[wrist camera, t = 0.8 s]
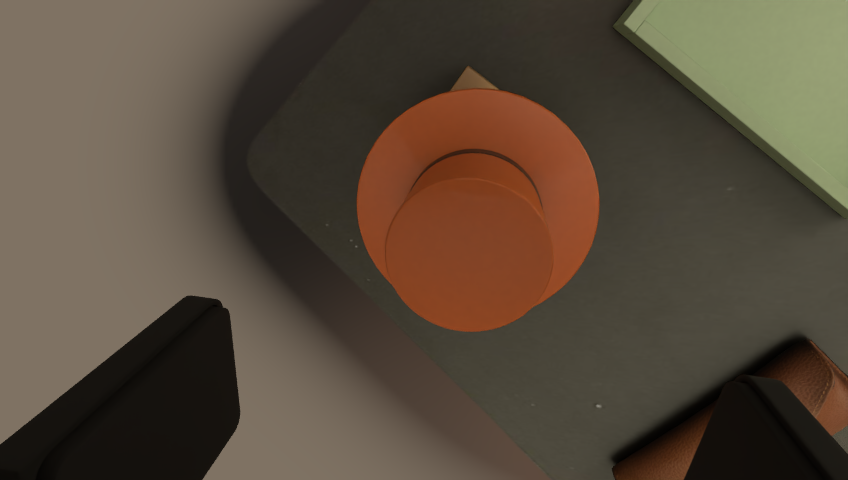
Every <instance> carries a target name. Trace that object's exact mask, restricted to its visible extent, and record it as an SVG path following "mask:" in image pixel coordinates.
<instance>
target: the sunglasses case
mask: <svg viewBox="0 0 848 480" xmlns="http://www.w3.org/2000/svg"><path fill="white" fill-rule="evenodd" d="M752 376H757V377H764V378H771V379H777V380H780V381H782V382H783V383H784V384H785V385H786V386H787V387H788V388H789V389H790V390H791V391H792V392H793V393H794V395H795V396H796V397H797V398H798V399H799V400H800V401H801V402H802V404H803V405H804V406H805V407H806V408H807V409H808V410H809V411H810V413H811V414H812V415H813V416H814V417H815V418H816V419H817V420H818V421H819V423H820V424H821V425H822V426H823V427H824V428H825V429H826V430H827V432H828V433H829V434H830V435H831V436H833V435H834V434H835V433H836V432H838V431H841V430H842V429H843V428H844V427H846V426H847V425H848V376H847V375H846V374H845V373H843V372H842V371H841V370H840V369H839V368H838V367H837V366H836V365H835V364H834V363H833V361H832V360H830V358H829V357H828V356H827V355H826V354H825V353H824V352H823V351H822V350H820V349H819V348H818V347H817V345H816V344H815V343H813V342H812V340H810V339H808V338H806V339H805V340H803V341H800V342H797V343H796V344H794V345H793V346H791V347H789V348H788V349H787V350H786V351H784V352H783V353H782V354H780V355H778V356H777V357H775V358H774V359H773V360H772V361H770V362H769V363H768V364H766V365H765V366H764V367H763V368H761V369H760V370H758V371H757V372H755V373H754V374H753V375H752ZM717 401H718V399H717V400H716V401H714V402H713V403H711V404H710V405H708V406H707V407H705V408H703V409H702V410H700V411H699V412H697V413H696V414H694V415H693V416H691V417H690V418H688V419H687V420H686V421H684V422H683V423H681V424H680V425H678V426H677V427H675V428H673V429H671V430H670V431H668V432H666V433H665V434H663V435H662V436H660V437H659V438H657V439H656V440H654V441H653V442H651V443H650V444H648V445H646V446H645V447H643V448H642V449H640V450H638V451H637V452H635V453H633V454H632V455H630V456H629V457H627V458H626V459H624V460H622V461H621V462H619V463H617V464H616V465H615V466H613V468H612V472H613V475H614V478H615V480H684V478H685V476H686V473H687V471H688V469H689V466H690V464H691V462H692V459H693V457H694V455H695V452H696V450H697V448H698V445H699V443H700V441H701V438H702V436H703V434H704V431H705V429H706V427H707V424H708V422H709V420H710V417H711V415H712V413H713V410H714V408H715V405H716V403H717Z"/></svg>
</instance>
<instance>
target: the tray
mask: <svg viewBox="0 0 848 480" xmlns="http://www.w3.org/2000/svg"><path fill="white" fill-rule="evenodd" d="M613 28H614V29H616V30H617V31H618V32H619V33H620V34H622V35H623V36H624V37H625V38H626V39H628V40H629V41H630V42H631V43H633V44H634V45H635V46H636V47H637V48H639V49H640V50H641V51H642V52H643V53H645V54H646V55H647V56H648V57H649V58H651V59H652V60H653V61H654V62H656V63H657V64H658V65H659V66H660V67H662V68H663V69H664V70H665V71H666V72H668V73H669V74H670V75H671V76H672V77H674V78H675V79H676V80H677V81H679V82H680V83H681V84H682V85H683V86H685V87H686V88H687V89H688V90H689V91H691V92H692V93H693V94H694V95H696V96H697V97H698V98H699V99H700V100H702V101H703V102H704V103H705V104H706V105H708V106H709V107H710V108H711V109H712V110H714V111H715V112H716V113H717V114H719V115H720V116H721V117H722V118H723V119H725V120H726V121H727V122H728V123H729V124H731V125H732V126H733V127H734V128H736V129H737V130H738V131H739V132H740V133H742V134H743V135H744V136H745V137H746V138H748V139H749V140H750V141H751V142H752V143H754V144H755V145H756V146H757V147H759V148H760V149H761V150H762V151H763V152H765V153H766V154H767V155H768V156H769V157H771V158H772V159H773V160H774V161H775V162H777V163H778V164H779V165H780V166H782V167H783V168H784V169H785V170H786V171H788V172H789V173H790V174H791V175H792V176H794V177H795V178H796V179H797V180H799V181H800V182H801V183H802V184H803V185H805V186H806V187H807V188H808V189H809V190H811V191H812V192H813V193H814V194H815V195H817V196H818V197H819V198H820V199H822V200H823V201H824V202H825V203H826V204H828V205H829V206H830V207H831V208H832V209H834V210H835V211H836V212H837V213H839V214H840V215H841V216H842V217H843V218H845V219H848V0H634V1H633V2H632V3H631V4H630V5H629V7H628V8H627V9H626V10H625V12H624V13H623V14H622V15H621V17H620V18H619V19H618V20H617V22H616V23H615V24H614V25H613Z"/></svg>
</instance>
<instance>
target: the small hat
mask: <svg viewBox="0 0 848 480" xmlns="http://www.w3.org/2000/svg"><path fill="white" fill-rule="evenodd" d="M357 216H358V222H359V228H360V231H361V235H362V238H363V241H364V244H365V246H366V248H367V250H368V253H369V255H370V257H371V258H372V260H373V262H374V263H375V265H376V267H377V268H378V269H379V270H380V272H381V273H382V274H383V276H384V277H385V278H386V279H387V280H388V281H389V282H390V283H391V284H392V285H393V287H394V288H395V290H396V292H397V293H398V295H399V296H400V297H401V299H402V300H403V301H404V302H405V303H406V304H407V305H408V306H409V307H410V308H411V309H412V310H413V311H414V312H415V313H417V314H418V315H419V316H421V317H423V318H424V319H426V320H427V321H429V322H432V323H434V324H436V325H438V326H441V327H444V328H447V329H452V330H457V331H466V332H478V331H486V330H491V329H495V328H499V327H501V326H504V325H507V324H509V323H511V322H513V321H515V320H517V319H518V318H520V317H521V316H523V315H524V314H525V313H526V312H528V311H529V310H530V309H531V308H532V307H534V306H536V305H537V304H539V303H541V302H543V301H545V300H546V299H548V298H549V297H551V296H552V295H553V294H555V293H556V292H557V291H558V290H559V289H561V288H562V287H563V286H564V285H565V284H566V283H567V282H568V281H569V280H570V279H571V278H572V276H573V275H574V274H575V273H576V272H577V270H578V269H579V267H580V266H581V264H582V263H583V261H584V260H585V258H586V256H587V254H588V252H589V250H590V248H591V245H592V242H593V239H594V236H595V233H596V229H597V224H598V218H599V192H598V184H597V180H596V176H595V172H594V169H593V166H592V164H591V161H590V159H589V157H588V154H587V153H586V151H585V149H584V148H583V146H582V144H581V143H580V141H579V139H578V138H577V137H576V136H575V135H574V133H573V132H572V131H571V130H570V129H569V127H568V126H567V125H566V124H565V123H563V122H562V121H561V120H560V119H559V118H558V117H557V116H556V115H555V114H553V113H552V112H550V111H549V110H547V109H546V108H544V107H543V106H542V105H540V104H538V103H536V102H534V101H532V100H530V99H528V98H526V97H523V96H520V95H517V94H514V93H511V92H508V91H502V90H496V89H489V88H468V89H458V90H453V91H449V92H445V93H441V94H438V95H436V96H433V97H431V98H428V99H426V100H424V101H422V102H420V103H418V104H416V105H415V106H413V107H411V108H409V109H408V110H407V111H405V112H404V113H403V114H401V115H400V116H399V117H397V118H396V119H395V120H394V121H393V122H392V123H391V124H390V125H389V126H388V127H387V128H386V129H385V130H384V131H383V133H382V134H381V135H380V137H379V138H378V139H377V140H376V142H375V143H374V145H373V147H372V149H371V150H370V152H369V154H368V156H367V158H366V161H365V163H364V166H363V168H362V171H361V175H360V180H359V184H358V192H357Z"/></svg>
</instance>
